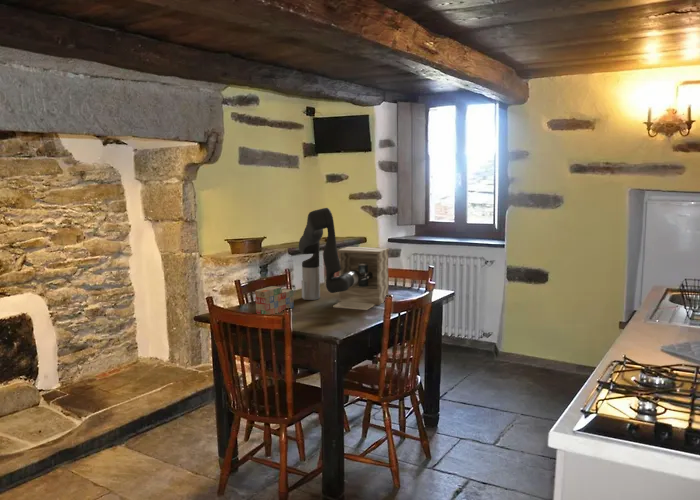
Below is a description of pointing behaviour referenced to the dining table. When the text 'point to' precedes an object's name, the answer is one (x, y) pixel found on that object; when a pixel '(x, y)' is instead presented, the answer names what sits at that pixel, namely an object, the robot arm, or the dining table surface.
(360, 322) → the dining table surface
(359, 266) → the tin
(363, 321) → the dining table surface
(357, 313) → the dining table surface
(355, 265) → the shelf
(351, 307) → the tile
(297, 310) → the dining table surface
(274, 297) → the stack of blocks
